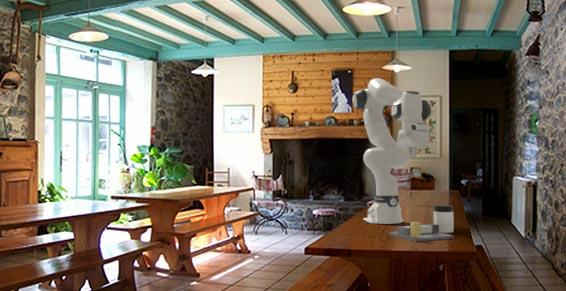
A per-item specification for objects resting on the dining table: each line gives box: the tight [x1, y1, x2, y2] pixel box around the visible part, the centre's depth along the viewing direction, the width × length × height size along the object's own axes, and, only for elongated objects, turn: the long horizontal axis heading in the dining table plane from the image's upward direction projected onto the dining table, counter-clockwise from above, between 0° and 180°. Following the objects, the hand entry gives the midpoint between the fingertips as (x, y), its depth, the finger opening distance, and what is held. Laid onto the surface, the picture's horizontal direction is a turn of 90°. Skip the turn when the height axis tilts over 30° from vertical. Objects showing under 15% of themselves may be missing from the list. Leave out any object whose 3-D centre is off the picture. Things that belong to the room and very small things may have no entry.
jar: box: [432, 204, 455, 234], centre depth 251 cm, size 9×8×12 cm
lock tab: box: [409, 221, 421, 238], centre depth 228 cm, size 3×3×6 cm
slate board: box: [388, 230, 454, 242], centre depth 238 cm, size 20×19×1 cm
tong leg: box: [420, 223, 439, 234], centre depth 239 cm, size 12×2×3 cm, turn 109°
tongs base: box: [397, 223, 433, 236], centre depth 239 cm, size 6×17×3 cm, turn 111°
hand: (412, 157), depth 245 cm, fingers closed
